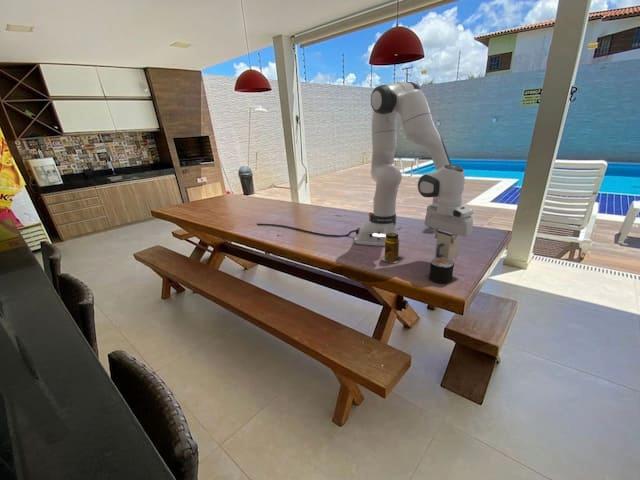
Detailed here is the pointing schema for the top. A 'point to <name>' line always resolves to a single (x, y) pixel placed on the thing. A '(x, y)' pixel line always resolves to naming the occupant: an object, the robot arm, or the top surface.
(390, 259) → the condiment
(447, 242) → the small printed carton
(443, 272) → the sushi
